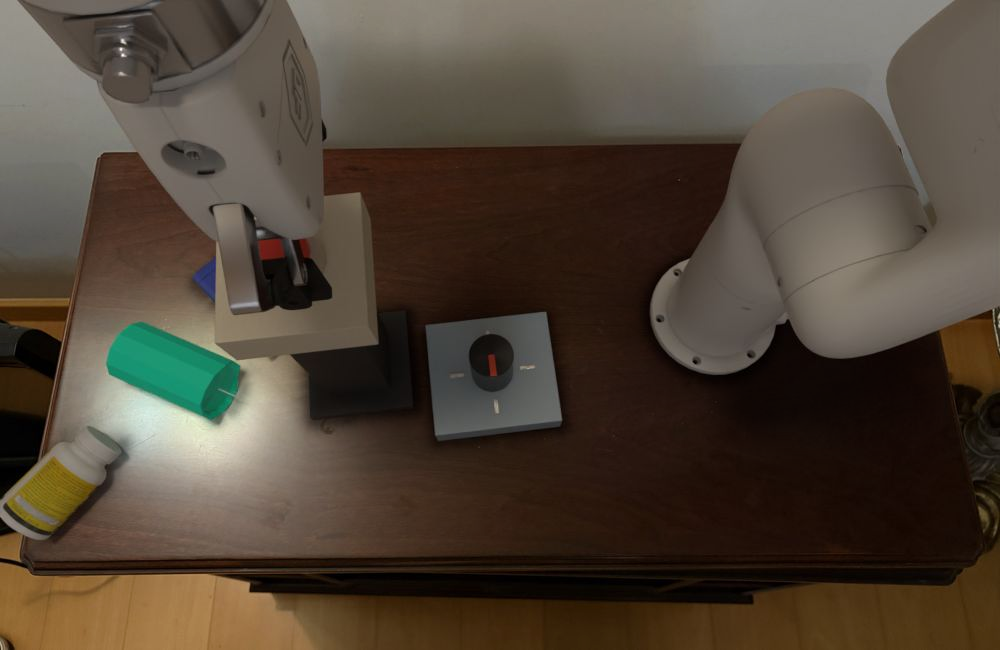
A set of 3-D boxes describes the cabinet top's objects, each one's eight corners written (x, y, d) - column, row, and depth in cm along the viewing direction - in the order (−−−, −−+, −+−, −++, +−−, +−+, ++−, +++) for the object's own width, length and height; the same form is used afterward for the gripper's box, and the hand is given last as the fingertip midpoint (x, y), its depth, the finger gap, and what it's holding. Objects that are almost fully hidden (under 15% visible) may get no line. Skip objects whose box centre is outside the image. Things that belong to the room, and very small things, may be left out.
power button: (309, 226, 47) (304, 218, 46) (311, 276, 46) (306, 269, 44) (254, 232, 47) (248, 224, 45) (255, 282, 45) (248, 275, 44)
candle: (136, 378, 72) (239, 424, 70) (96, 378, 66) (208, 428, 64) (159, 324, 72) (263, 368, 70) (122, 318, 66) (234, 366, 64)
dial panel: (544, 321, 73) (546, 310, 70) (560, 426, 69) (562, 420, 66) (428, 334, 72) (425, 324, 69) (437, 441, 69) (434, 435, 66)
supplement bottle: (52, 550, 64) (134, 465, 66) (-3, 525, 60) (86, 436, 62) (41, 520, 68) (119, 440, 70) (-11, 495, 64) (73, 412, 66)
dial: (469, 354, 68) (466, 335, 63) (510, 349, 69) (510, 330, 63) (473, 394, 67) (470, 378, 62) (515, 389, 67) (516, 373, 62)
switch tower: (407, 313, 73) (358, 187, 49) (414, 408, 70) (366, 323, 46) (310, 324, 73) (213, 202, 49) (313, 420, 69) (210, 340, 45)
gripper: (262, 189, 20) (378, 357, 36) (261, -232, 26) (362, 78, 42) (-4, 218, 20) (231, 374, 36) (54, -210, 25) (235, 92, 42)
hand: (301, 215), depth 39 cm, fingers open, 9 cm apart
